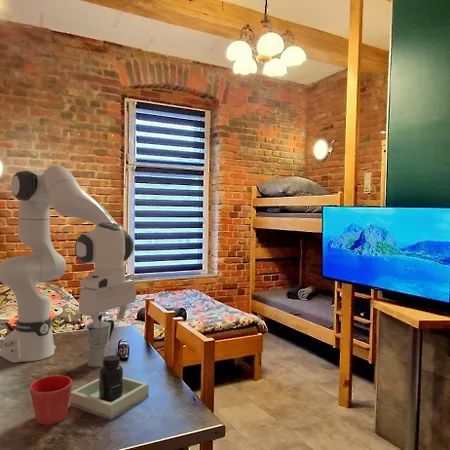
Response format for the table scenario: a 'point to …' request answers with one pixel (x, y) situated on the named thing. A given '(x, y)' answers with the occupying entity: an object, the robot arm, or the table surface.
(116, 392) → the supplement bottle
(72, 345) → the table surface
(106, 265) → the robot arm
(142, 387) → the tray
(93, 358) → the coffee maker
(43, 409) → the flower pot
